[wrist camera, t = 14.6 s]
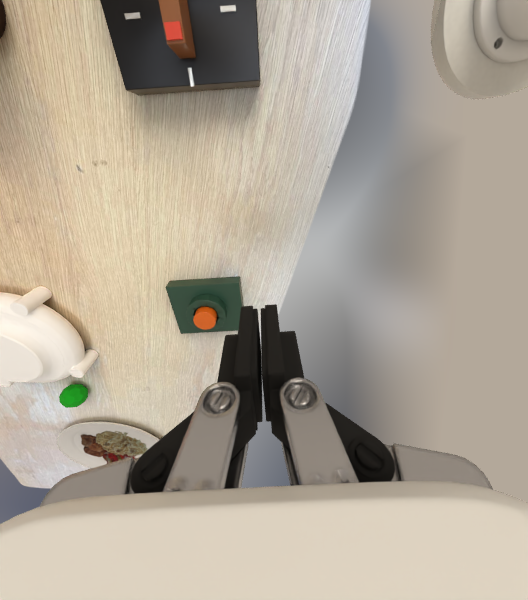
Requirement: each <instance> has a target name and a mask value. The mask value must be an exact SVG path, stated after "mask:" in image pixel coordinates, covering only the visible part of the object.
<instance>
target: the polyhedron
mask: <svg viewBox="0 0 528 600" xmlns="http://www.w3.org/2000/svg"><path fill="white" fill-rule="evenodd" d="M87 397H88V389H87V388H86V387H84V386H83V385H82V384H74V385H70V386H68V387H66V388H65V389H64V390H63V391H62V393H61V394H60V397H59V398H60V403H61V404H62V405H63V406H65V407H77V406H79V405H80V404H82V403H83V402H85V400H86V399H87Z"/></svg>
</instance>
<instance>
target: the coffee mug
mask: <svg viewBox="0 0 528 600" xmlns="http://www.w3.org/2000/svg"><path fill="white" fill-rule="evenodd" d="M5 26H6V15H5V10H4V5H3V2H2V0H0V38H1V37H2V36H3V33H4V31H5Z"/></svg>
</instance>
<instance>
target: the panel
mask: <svg viewBox="0 0 528 600" xmlns="http://www.w3.org/2000/svg"><path fill="white" fill-rule="evenodd" d="M100 1H101V4H102V8H103V11H104V15H105V18H106V22H107V25H108V29H109V32H110V36H111V39H112V43H113V46H114V50H115V53H116V57H117V60H118V64H119V67H120V71H121V74H122V78H123V81H124V85H125V88H126V90H127V91H130V92H132V93H135V94H137V95H147V94H161V93H175V92H189V91H203V90H217V89H231V88H245V87H259V86H260V69H259V49H258V28H257V8H256V0H187V2H188V9H189V15H190V22H191V29H192V35H193V42H194V48H195V55H196V57H195V58H182V59H180V58H179V57H178V56H177V55H176V53H175V52H174V51H173V50H172V49H171V48H170V47H169V46H168V45H167V41H166V36H165V31H164V26H163V21H162V16H161V11H160V6H159V0H100Z"/></svg>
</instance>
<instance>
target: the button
mask: <svg viewBox="0 0 528 600" xmlns="http://www.w3.org/2000/svg"><path fill="white" fill-rule="evenodd" d="M216 320H217V313H216V311H215V310H214V309H213V308H211V307H207V306H203V307H200V308H198V309H197V311H196V313H195V316H194V319H193V321H194V324H195V325H196V326H197V327H198V328H200V329H205V330H207V329H211V328H213V327H214V326H215V324H216Z"/></svg>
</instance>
